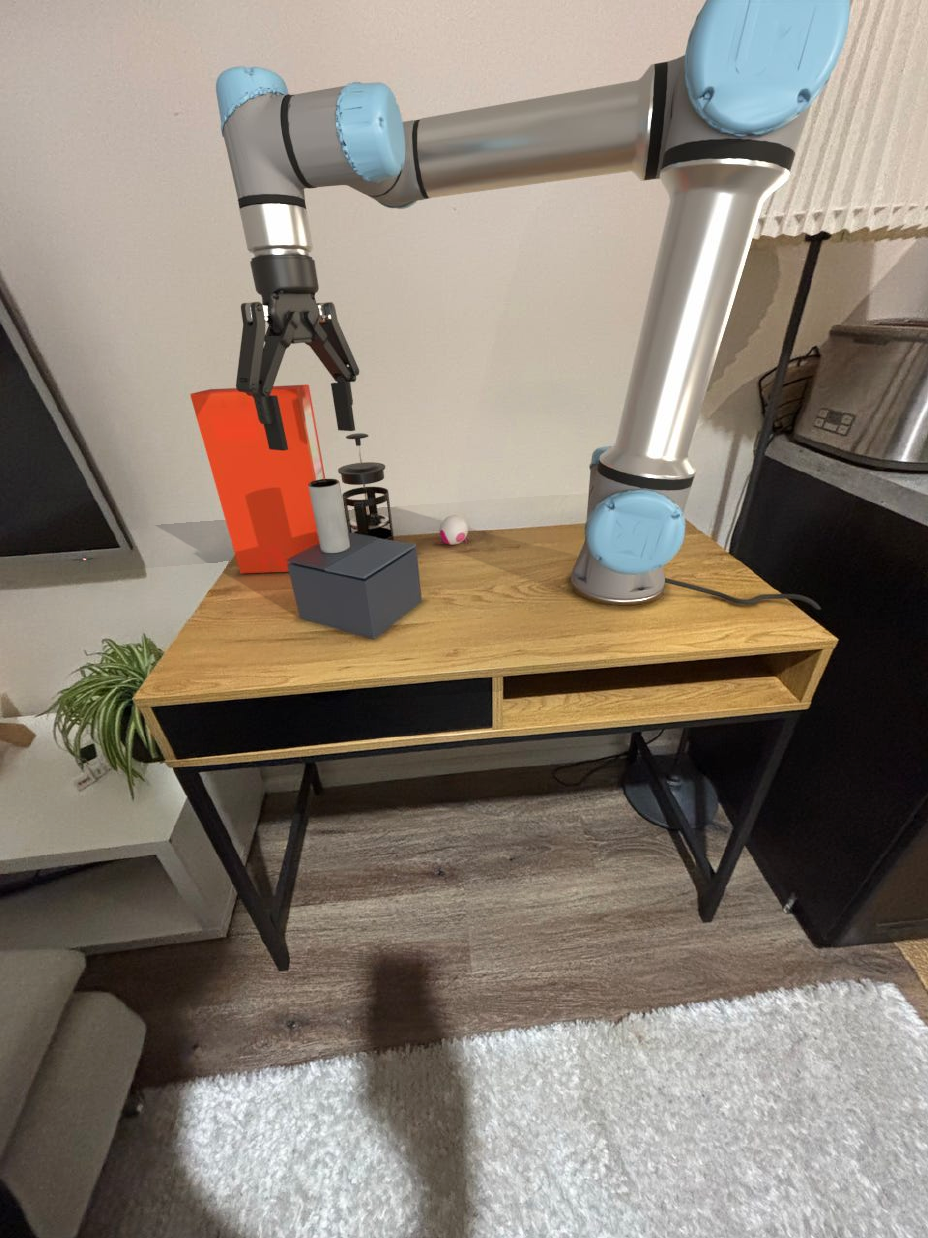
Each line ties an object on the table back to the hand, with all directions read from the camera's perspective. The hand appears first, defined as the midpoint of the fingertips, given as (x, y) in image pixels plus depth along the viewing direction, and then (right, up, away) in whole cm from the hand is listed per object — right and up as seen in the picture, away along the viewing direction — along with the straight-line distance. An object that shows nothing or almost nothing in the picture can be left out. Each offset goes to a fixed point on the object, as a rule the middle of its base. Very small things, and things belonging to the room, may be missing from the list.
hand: (315, 439), depth 72 cm
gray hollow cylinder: (+1, -14, +8) cm, 17 cm away
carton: (+4, -24, +12) cm, 27 cm away
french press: (+2, -11, +34) cm, 36 cm away
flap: (+7, -16, +5) cm, 18 cm away
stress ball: (+18, -10, +36) cm, 41 cm away
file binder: (-13, -15, +30) cm, 36 cm away
